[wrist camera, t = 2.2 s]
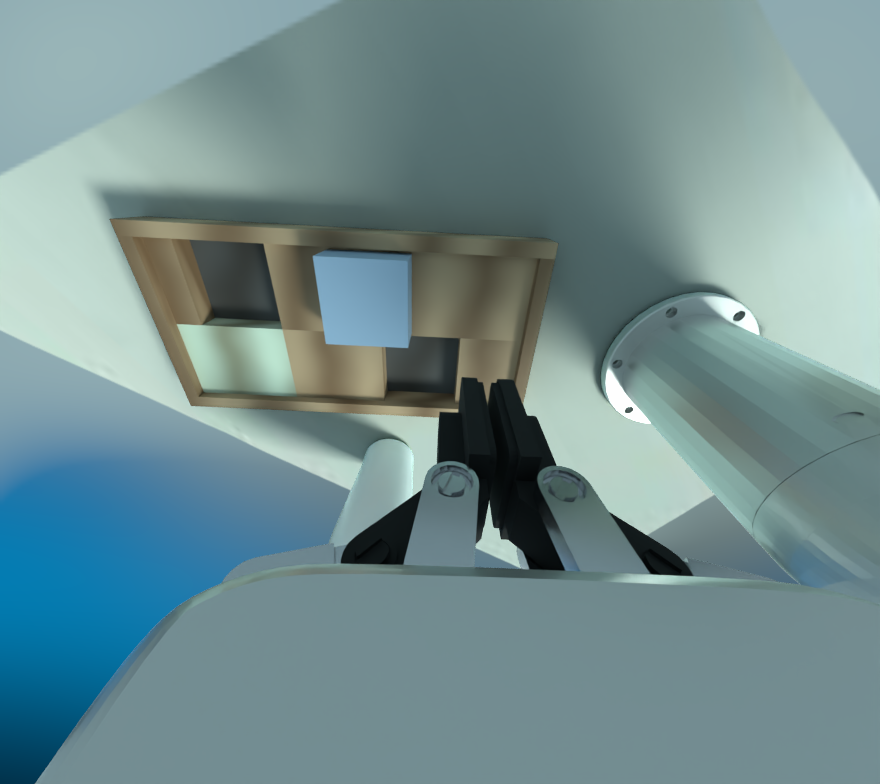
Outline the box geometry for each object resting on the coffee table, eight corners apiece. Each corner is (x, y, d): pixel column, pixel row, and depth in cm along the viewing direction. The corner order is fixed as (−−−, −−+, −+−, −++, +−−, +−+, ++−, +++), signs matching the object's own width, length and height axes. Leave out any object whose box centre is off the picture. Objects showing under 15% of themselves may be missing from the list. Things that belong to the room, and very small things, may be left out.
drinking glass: (353, 433, 34) (298, 575, 21) (415, 428, 34) (398, 570, 21) (367, 478, 38) (328, 623, 25) (424, 473, 37) (414, 619, 25)
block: (411, 253, 23) (407, 261, 20) (411, 332, 26) (408, 348, 24) (327, 248, 23) (312, 256, 20) (337, 329, 26) (325, 343, 23)
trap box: (547, 238, 24) (558, 243, 22) (513, 404, 32) (519, 421, 30) (143, 216, 24) (109, 219, 21) (210, 389, 32) (191, 405, 29)
